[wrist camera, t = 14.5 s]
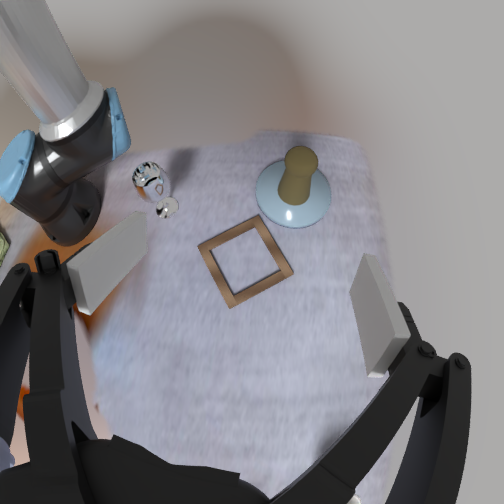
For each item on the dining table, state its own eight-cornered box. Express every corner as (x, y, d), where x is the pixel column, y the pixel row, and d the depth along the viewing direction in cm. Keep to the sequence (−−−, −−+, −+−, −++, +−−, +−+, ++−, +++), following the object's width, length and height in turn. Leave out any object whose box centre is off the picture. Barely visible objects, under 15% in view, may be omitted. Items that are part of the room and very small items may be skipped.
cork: (296, 172, 50) (305, 134, 39) (316, 195, 48) (330, 161, 38) (270, 186, 49) (274, 149, 38) (290, 211, 48) (299, 178, 37)
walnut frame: (197, 247, 47) (197, 246, 46) (258, 216, 49) (258, 215, 48) (229, 308, 44) (229, 308, 43) (293, 274, 45) (293, 273, 45)
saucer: (242, 180, 51) (242, 177, 50) (303, 154, 53) (304, 150, 51) (280, 241, 47) (281, 239, 46) (343, 208, 49) (345, 205, 48)
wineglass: (152, 223, 48) (126, 192, 37) (154, 196, 50) (131, 162, 39) (181, 220, 48) (162, 187, 37) (182, 192, 50) (165, 156, 39)
